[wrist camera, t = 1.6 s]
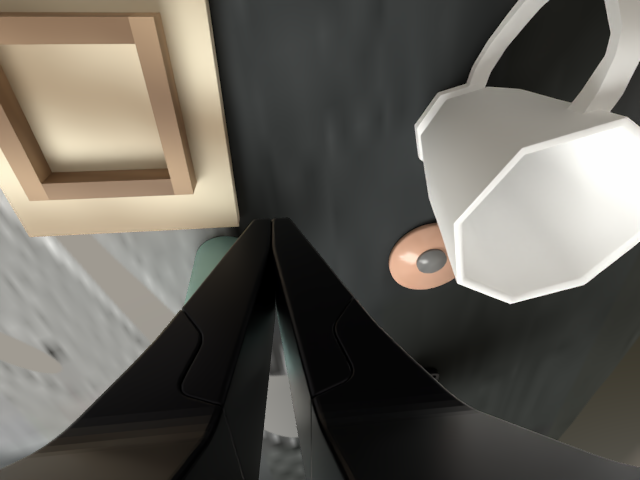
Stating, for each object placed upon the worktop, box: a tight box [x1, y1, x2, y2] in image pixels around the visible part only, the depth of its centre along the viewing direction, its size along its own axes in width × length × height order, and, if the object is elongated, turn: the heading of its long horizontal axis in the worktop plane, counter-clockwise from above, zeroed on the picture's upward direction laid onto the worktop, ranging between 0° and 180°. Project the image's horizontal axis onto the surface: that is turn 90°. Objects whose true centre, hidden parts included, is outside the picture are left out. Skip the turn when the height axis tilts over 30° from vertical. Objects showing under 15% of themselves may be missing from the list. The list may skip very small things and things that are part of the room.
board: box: [0, 0, 240, 237], centre depth 15 cm, size 12×10×2 cm
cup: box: [415, 0, 640, 304], centre depth 14 cm, size 7×10×8 cm
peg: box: [184, 236, 238, 305], centre depth 19 cm, size 4×4×7 cm
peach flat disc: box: [388, 223, 455, 289], centre depth 23 cm, size 5×5×1 cm
